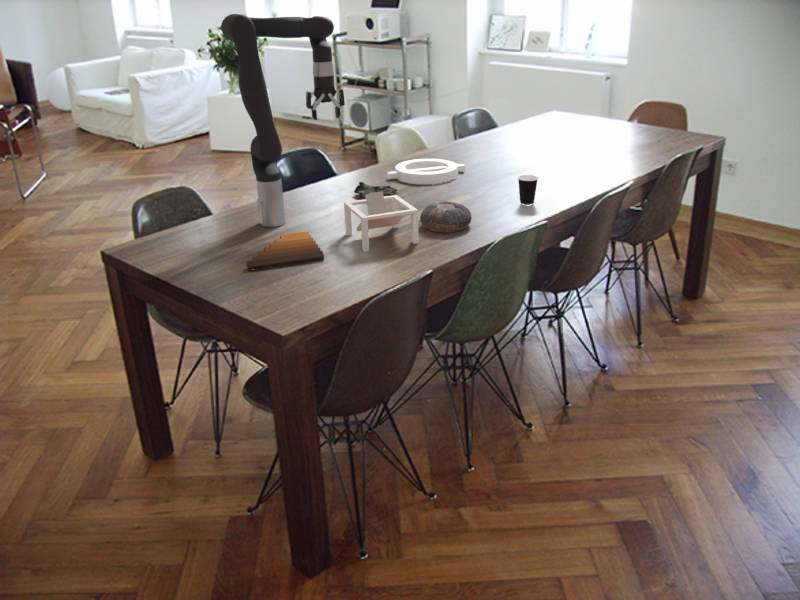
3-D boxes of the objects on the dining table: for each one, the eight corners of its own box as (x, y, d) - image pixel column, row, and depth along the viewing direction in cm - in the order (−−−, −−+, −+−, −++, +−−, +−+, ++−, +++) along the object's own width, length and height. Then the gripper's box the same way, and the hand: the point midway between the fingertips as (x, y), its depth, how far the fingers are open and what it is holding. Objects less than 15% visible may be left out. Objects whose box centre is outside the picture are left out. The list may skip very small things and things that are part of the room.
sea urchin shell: (482, 223, 285) (480, 199, 280) (448, 245, 275) (445, 220, 270) (445, 212, 297) (442, 189, 292) (411, 233, 287) (407, 208, 282)
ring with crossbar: (467, 172, 356) (467, 161, 354) (441, 187, 333) (441, 177, 331) (412, 166, 368) (412, 156, 366) (384, 181, 345) (384, 170, 343)
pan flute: (248, 273, 250) (324, 262, 257) (247, 263, 248) (323, 252, 256) (237, 248, 271) (307, 238, 279) (236, 239, 270) (307, 229, 277)
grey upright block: (374, 221, 272) (369, 193, 271) (370, 223, 276) (365, 195, 276) (387, 219, 273) (382, 191, 273) (383, 221, 278) (378, 193, 278)
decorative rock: (384, 178, 335) (406, 182, 324) (384, 192, 337) (406, 196, 325) (348, 183, 324) (369, 188, 312) (348, 198, 326) (369, 203, 314)
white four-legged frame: (364, 251, 263) (362, 218, 258) (345, 234, 280) (343, 202, 275) (418, 243, 270) (417, 209, 265) (397, 226, 287) (396, 194, 282)
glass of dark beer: (541, 205, 306) (542, 177, 301) (526, 208, 302) (527, 181, 297) (527, 200, 312) (528, 173, 307) (512, 204, 308) (513, 177, 303)
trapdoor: (367, 217, 261) (367, 214, 261) (356, 231, 275) (356, 228, 275) (409, 211, 266) (408, 208, 266) (396, 225, 280) (395, 222, 280)
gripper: (307, 77, 279) (310, 122, 286) (345, 73, 284) (347, 118, 291) (302, 74, 286) (305, 118, 292) (338, 71, 290) (341, 115, 297)
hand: (326, 118), depth 291 cm, fingers open, 8 cm apart
